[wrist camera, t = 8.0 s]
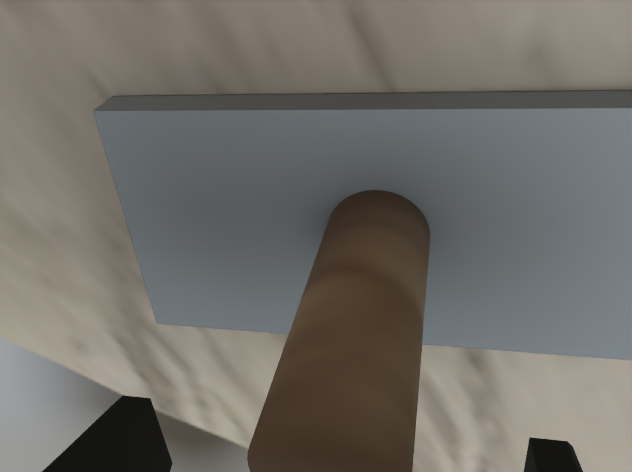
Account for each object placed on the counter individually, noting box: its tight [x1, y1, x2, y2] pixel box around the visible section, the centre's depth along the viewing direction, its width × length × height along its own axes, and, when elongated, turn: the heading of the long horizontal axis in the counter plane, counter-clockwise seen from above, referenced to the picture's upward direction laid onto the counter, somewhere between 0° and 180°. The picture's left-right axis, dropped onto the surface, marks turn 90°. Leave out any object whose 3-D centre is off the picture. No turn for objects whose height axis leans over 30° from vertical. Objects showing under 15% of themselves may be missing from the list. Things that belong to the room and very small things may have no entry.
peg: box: [248, 190, 430, 472], centre depth 14 cm, size 3×3×8 cm
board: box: [93, 90, 632, 360], centre depth 18 cm, size 16×8×1 cm, turn 95°
